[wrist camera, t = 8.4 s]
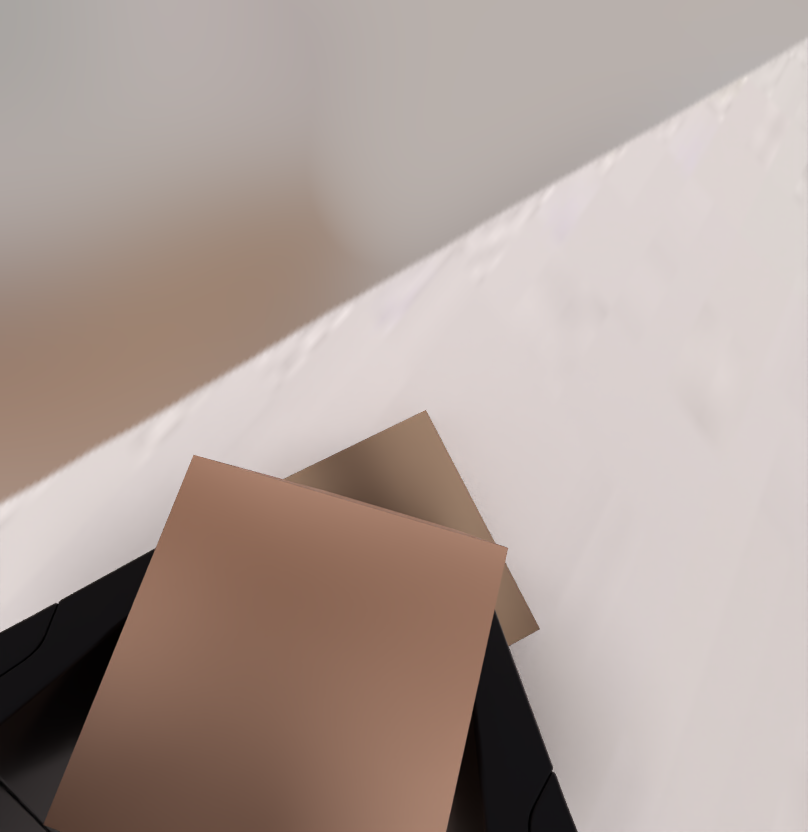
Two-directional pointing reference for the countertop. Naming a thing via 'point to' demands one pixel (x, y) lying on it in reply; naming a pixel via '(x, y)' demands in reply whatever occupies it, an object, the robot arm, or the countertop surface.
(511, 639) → the base board
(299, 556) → the pillar
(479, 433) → the countertop surface
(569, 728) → the countertop surface
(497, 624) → the robot arm
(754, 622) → the countertop surface
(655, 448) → the countertop surface
